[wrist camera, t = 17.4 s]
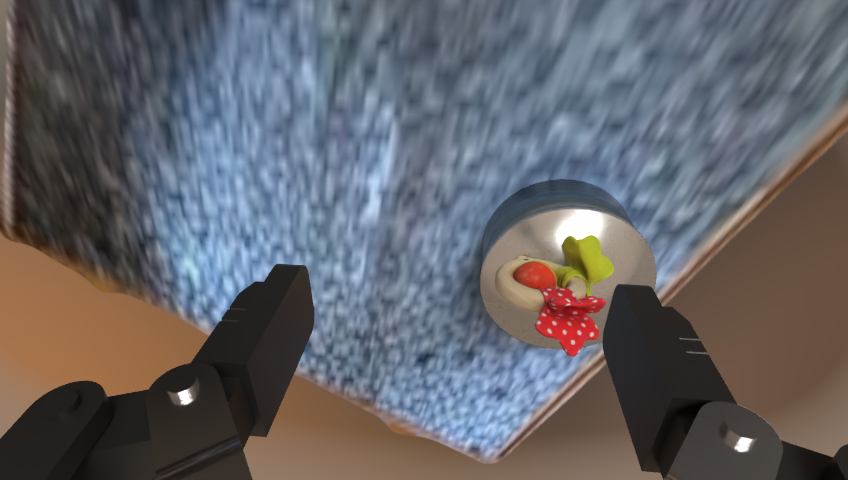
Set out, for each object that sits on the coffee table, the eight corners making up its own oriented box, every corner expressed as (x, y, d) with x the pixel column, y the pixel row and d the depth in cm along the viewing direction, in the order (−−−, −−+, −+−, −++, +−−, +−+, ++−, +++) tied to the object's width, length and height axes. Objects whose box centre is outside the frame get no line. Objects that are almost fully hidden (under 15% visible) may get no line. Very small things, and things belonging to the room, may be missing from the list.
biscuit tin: (480, 303, 53) (479, 346, 47) (480, 177, 46) (480, 209, 39) (621, 306, 51) (640, 351, 45) (646, 175, 44) (673, 209, 38)
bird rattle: (517, 276, 45) (617, 301, 41) (468, 348, 37) (586, 388, 33) (521, 218, 42) (629, 239, 38) (468, 282, 34) (598, 318, 29)
